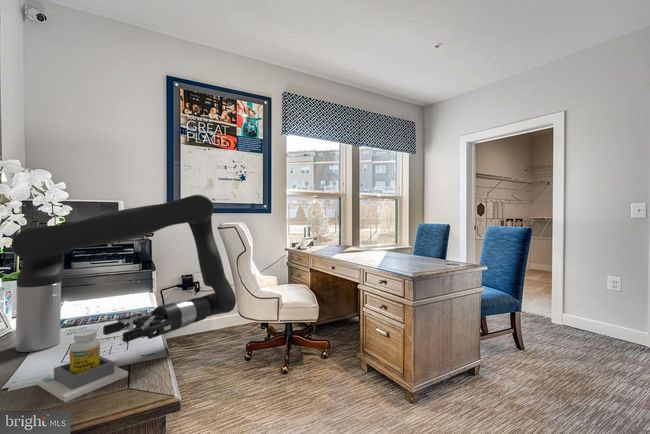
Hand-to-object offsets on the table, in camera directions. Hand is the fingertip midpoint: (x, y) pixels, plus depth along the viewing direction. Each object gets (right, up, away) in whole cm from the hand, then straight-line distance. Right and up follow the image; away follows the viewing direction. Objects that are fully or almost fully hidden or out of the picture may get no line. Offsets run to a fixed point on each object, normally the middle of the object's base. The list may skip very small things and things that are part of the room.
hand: (113, 334), depth 76 cm
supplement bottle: (-3, -8, -5) cm, 10 cm away
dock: (-3, -8, -5) cm, 10 cm away
